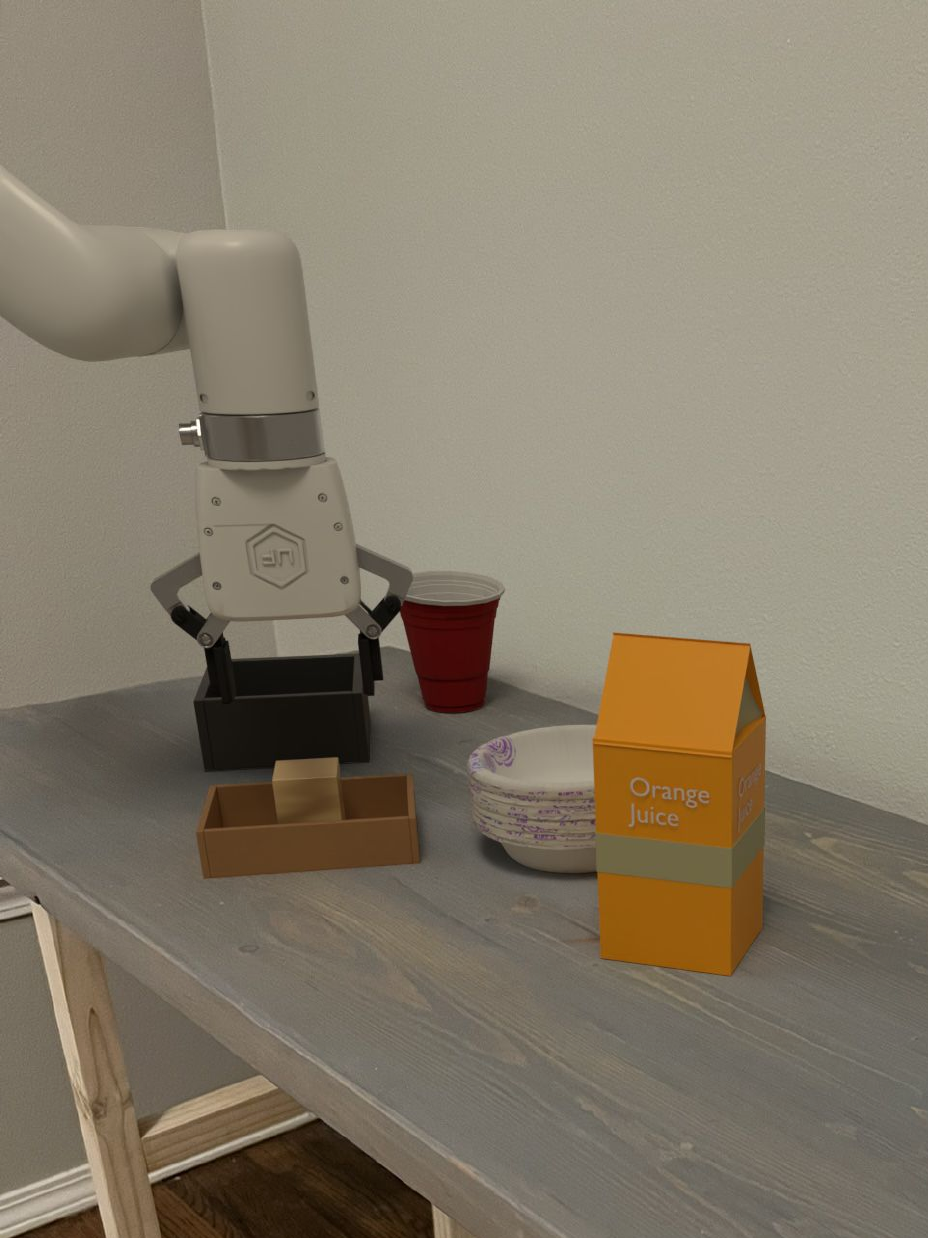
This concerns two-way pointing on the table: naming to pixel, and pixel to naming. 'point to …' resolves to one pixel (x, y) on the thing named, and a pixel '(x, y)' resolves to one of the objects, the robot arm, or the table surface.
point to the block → (308, 790)
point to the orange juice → (680, 803)
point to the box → (308, 830)
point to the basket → (285, 713)
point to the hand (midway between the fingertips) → (300, 695)
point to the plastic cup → (451, 636)
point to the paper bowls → (538, 796)
